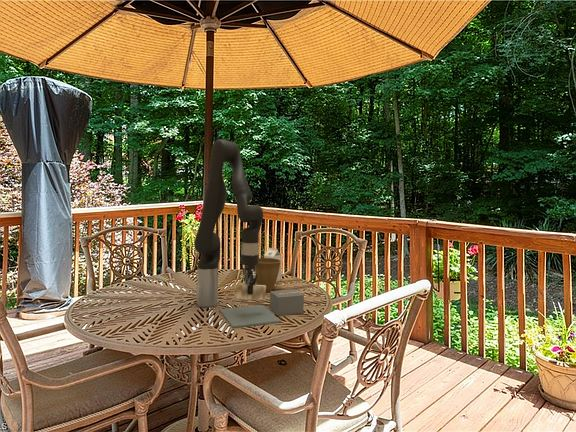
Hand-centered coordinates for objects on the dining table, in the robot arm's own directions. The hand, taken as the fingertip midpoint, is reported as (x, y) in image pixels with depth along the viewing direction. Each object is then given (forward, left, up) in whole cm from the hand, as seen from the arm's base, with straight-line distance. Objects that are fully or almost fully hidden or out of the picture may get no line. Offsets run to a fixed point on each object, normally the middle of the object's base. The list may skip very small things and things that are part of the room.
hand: (249, 293), depth 171 cm
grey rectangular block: (+18, +2, -10) cm, 21 cm away
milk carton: (+31, +54, -10) cm, 63 cm away
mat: (0, 0, -10) cm, 10 cm away
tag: (+7, 0, 0) cm, 7 cm away
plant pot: (+21, +37, -10) cm, 44 cm away
